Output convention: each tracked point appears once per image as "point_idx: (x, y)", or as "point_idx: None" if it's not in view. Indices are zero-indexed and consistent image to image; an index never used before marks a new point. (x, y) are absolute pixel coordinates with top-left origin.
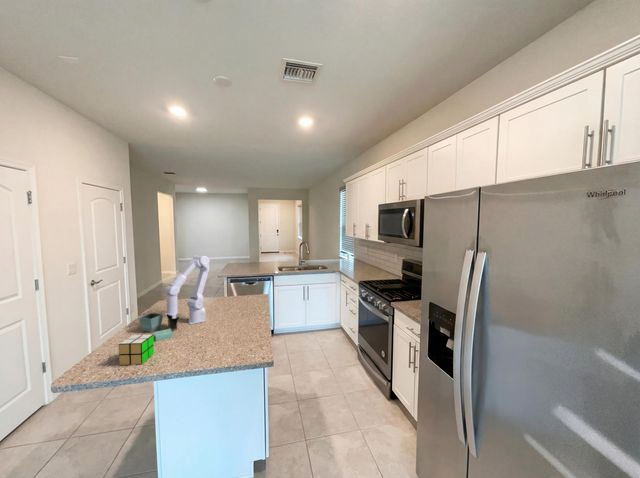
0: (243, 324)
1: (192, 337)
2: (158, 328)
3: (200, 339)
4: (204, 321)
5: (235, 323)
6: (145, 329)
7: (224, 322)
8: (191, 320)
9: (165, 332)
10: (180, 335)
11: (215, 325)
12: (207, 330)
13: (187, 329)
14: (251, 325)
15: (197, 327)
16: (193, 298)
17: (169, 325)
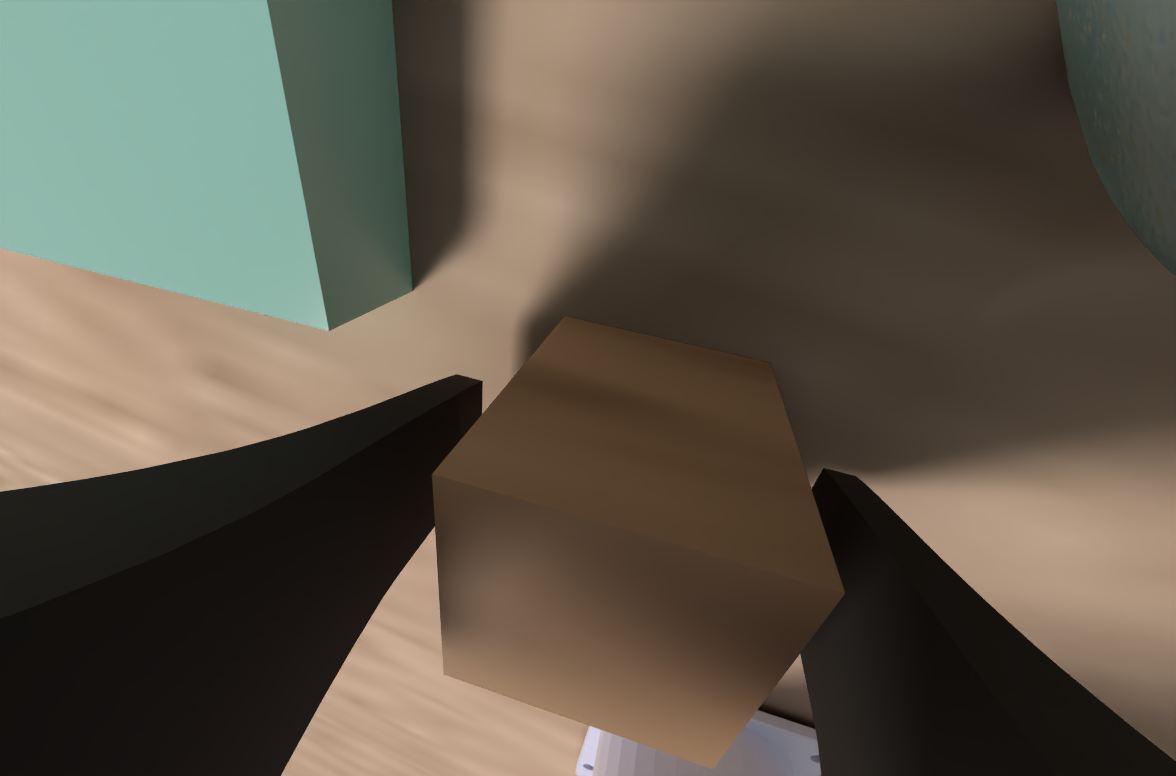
0: (294, 764)
1: (92, 438)
2: (1079, 113)
3: (22, 460)
4: (578, 759)
5: (344, 768)
6: None
7: (418, 769)
8: (647, 753)
9: (49, 97)
10: (206, 370)
11: (381, 713)
12: None
13: (426, 543)
14: None
15: (427, 631)
16: None
17: (504, 404)
